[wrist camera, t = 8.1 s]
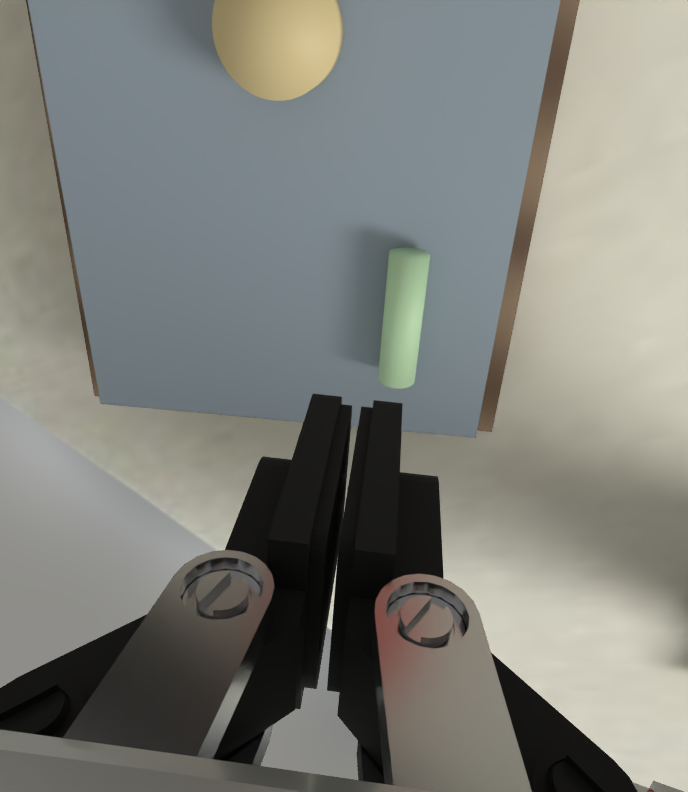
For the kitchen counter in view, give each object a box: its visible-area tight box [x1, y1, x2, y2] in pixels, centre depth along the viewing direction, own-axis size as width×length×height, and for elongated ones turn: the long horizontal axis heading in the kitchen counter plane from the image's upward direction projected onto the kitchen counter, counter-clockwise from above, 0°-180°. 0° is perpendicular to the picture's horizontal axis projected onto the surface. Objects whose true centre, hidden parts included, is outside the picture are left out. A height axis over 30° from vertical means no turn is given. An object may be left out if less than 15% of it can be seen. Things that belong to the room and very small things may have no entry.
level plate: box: [28, 0, 560, 438], centre depth 24 cm, size 19×18×3 cm
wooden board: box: [26, 0, 580, 432], centre depth 28 cm, size 20×20×4 cm
